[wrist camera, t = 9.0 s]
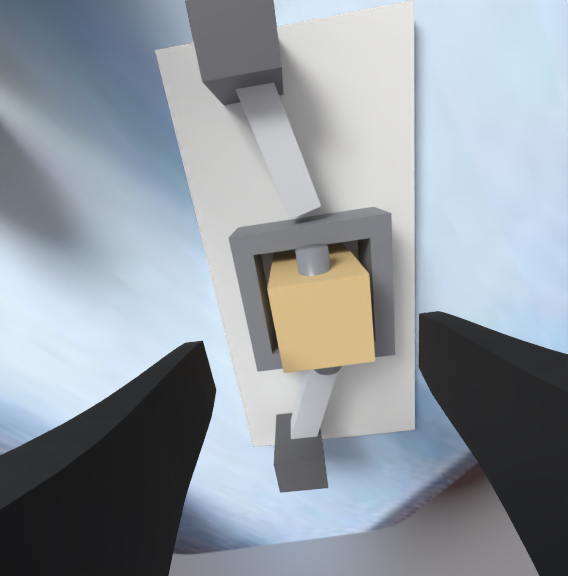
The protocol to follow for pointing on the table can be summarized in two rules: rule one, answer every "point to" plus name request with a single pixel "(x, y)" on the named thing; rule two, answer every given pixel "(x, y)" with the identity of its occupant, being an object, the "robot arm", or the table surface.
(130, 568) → the robot arm
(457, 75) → the table surface
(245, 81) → the coupling rig
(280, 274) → the block
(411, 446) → the table surface
